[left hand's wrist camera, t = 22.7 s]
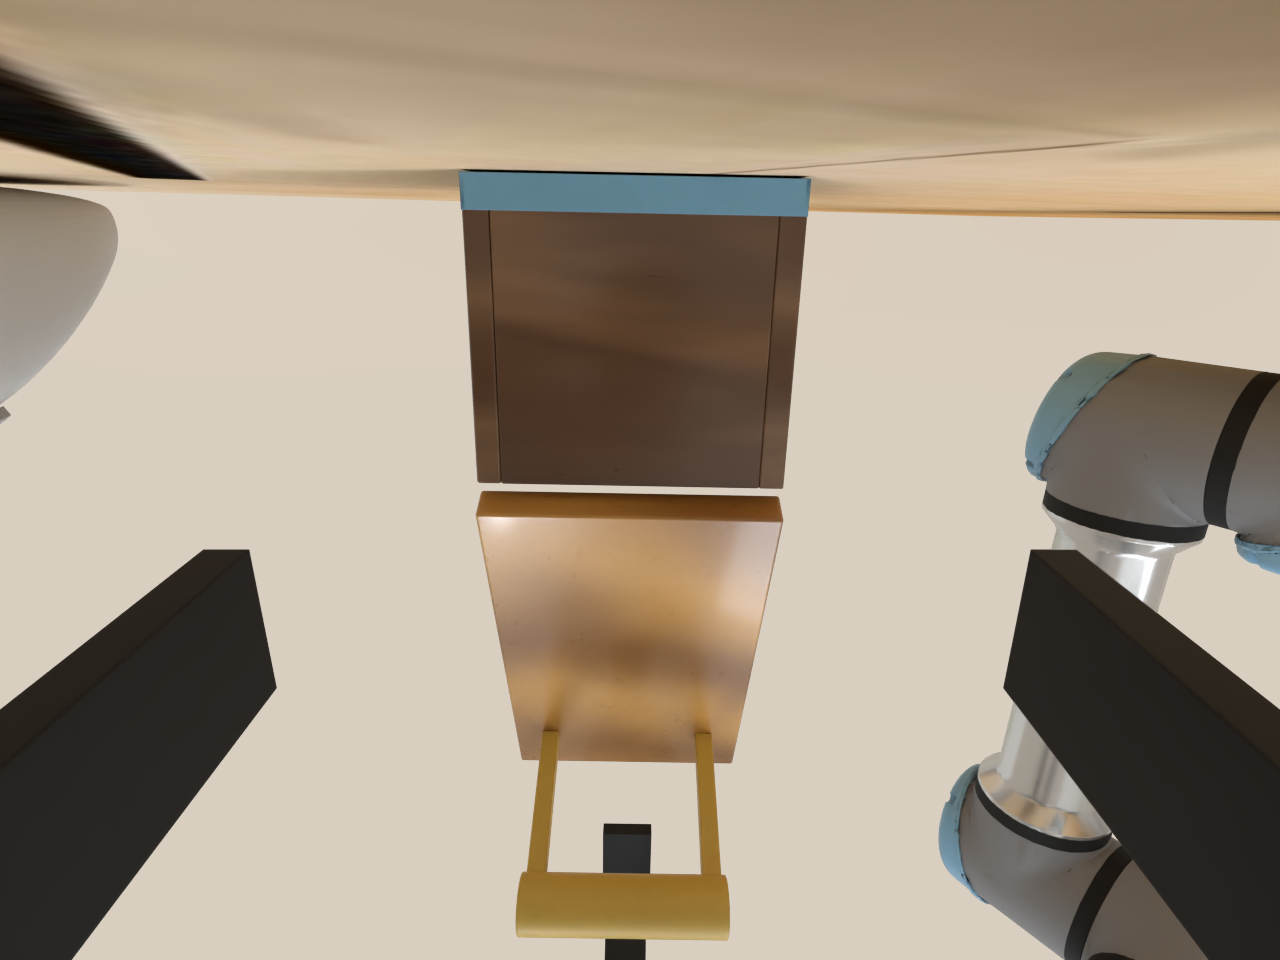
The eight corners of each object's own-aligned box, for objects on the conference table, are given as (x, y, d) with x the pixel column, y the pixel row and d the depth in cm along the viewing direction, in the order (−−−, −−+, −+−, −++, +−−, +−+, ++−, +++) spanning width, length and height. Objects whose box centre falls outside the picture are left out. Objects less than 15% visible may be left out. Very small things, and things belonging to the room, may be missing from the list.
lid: (730, 740, 35) (748, 960, 28) (524, 737, 35) (495, 956, 28) (779, 495, 24) (828, 758, 18) (480, 489, 24) (418, 751, 18)
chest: (739, 195, 35) (728, 384, 38) (534, 190, 35) (539, 381, 38) (811, 178, 20) (783, 489, 23) (458, 171, 20) (476, 483, 23)
